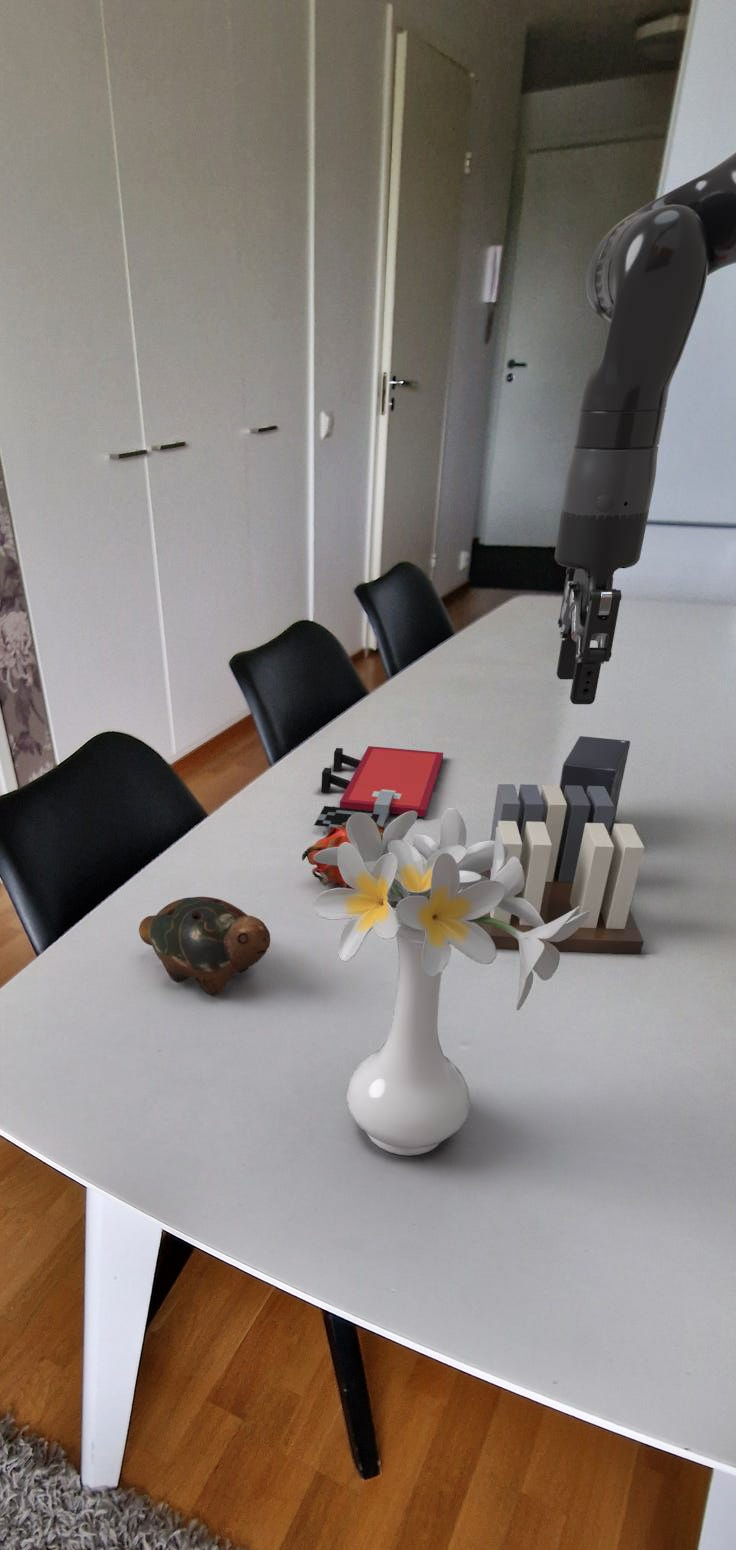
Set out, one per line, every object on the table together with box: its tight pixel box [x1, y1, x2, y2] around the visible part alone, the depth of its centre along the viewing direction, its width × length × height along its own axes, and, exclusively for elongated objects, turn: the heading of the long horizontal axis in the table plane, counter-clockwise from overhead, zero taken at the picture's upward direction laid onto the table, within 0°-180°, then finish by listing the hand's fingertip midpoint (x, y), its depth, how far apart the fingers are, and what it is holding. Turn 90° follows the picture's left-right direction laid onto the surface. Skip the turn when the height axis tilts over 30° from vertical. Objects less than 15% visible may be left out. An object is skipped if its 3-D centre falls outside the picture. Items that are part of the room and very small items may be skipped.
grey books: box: [489, 783, 614, 882], centre depth 101 cm, size 11×6×9 cm, turn 83°
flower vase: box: [312, 807, 590, 1157], centre depth 65 cm, size 13×18×25 cm
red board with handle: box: [313, 745, 444, 828], centre depth 126 cm, size 30×3×15 cm
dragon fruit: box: [301, 822, 399, 890], centre depth 103 cm, size 8×8×12 cm
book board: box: [473, 869, 645, 955], centre depth 100 cm, size 16×20×2 cm
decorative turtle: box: [138, 896, 271, 997], centre depth 89 cm, size 10×15×8 cm, turn 61°
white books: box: [490, 821, 645, 929], centre depth 93 cm, size 13×6×9 cm, turn 83°
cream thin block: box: [540, 784, 567, 882], centre depth 101 cm, size 2×6×9 cm, turn 173°
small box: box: [558, 735, 631, 835], centre depth 112 cm, size 11×6×10 cm, turn 154°
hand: (573, 690), depth 92 cm, fingers open, 8 cm apart
